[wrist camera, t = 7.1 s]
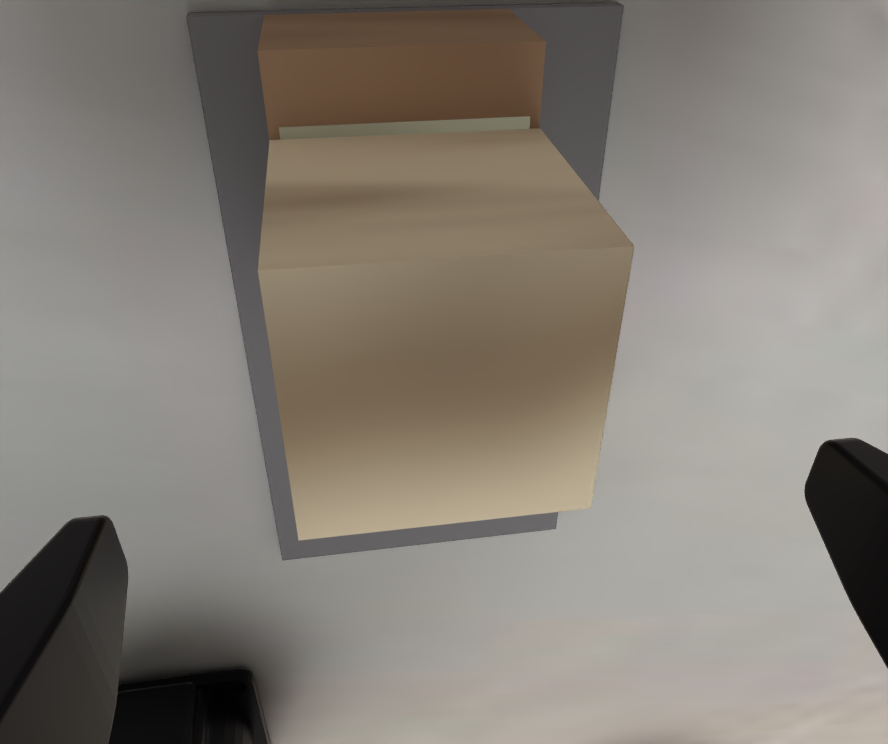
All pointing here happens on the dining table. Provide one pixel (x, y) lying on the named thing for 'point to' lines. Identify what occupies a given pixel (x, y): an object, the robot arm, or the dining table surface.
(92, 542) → the robot arm
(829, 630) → the dining table surface
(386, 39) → the brown block
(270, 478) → the mat
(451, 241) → the birch cube
